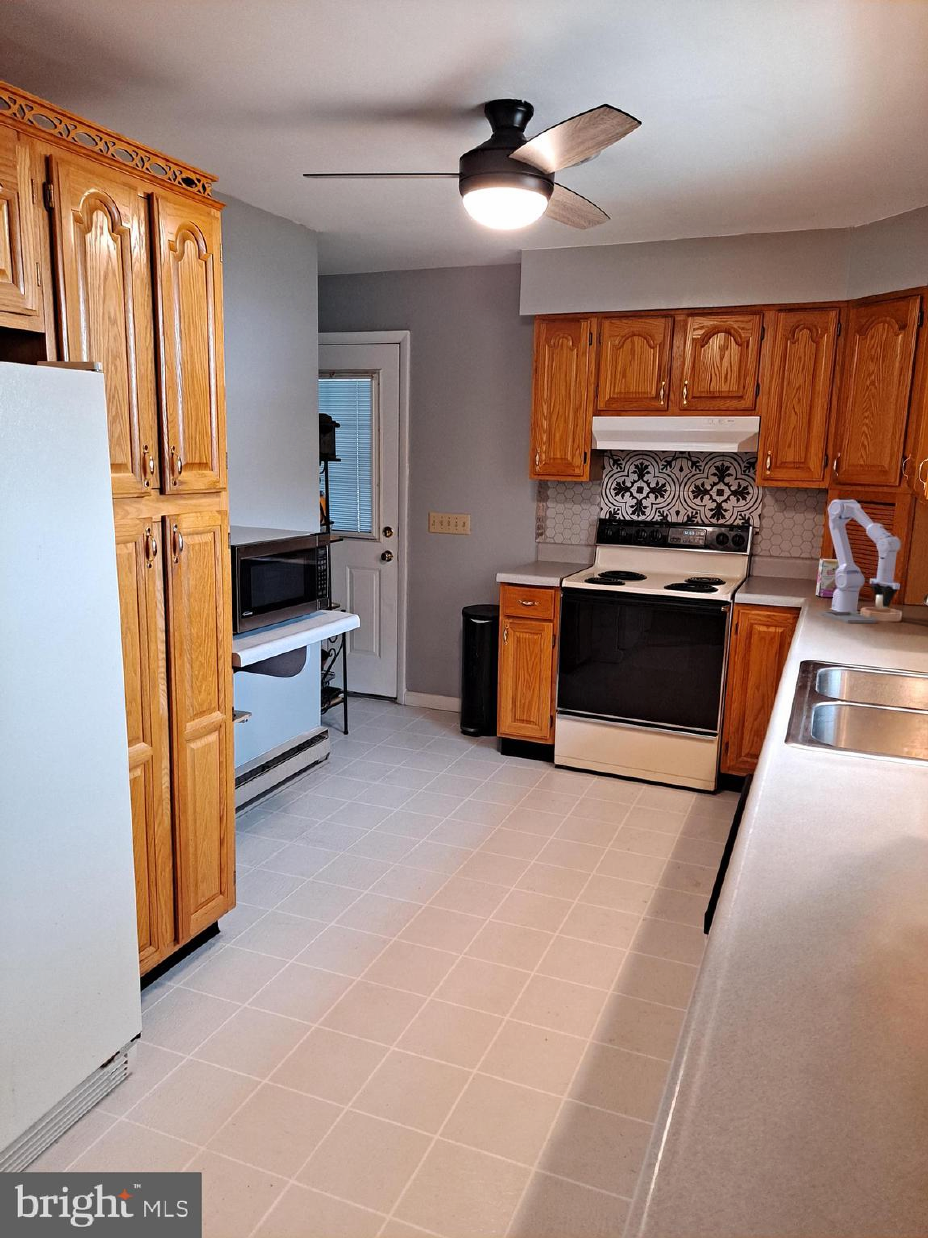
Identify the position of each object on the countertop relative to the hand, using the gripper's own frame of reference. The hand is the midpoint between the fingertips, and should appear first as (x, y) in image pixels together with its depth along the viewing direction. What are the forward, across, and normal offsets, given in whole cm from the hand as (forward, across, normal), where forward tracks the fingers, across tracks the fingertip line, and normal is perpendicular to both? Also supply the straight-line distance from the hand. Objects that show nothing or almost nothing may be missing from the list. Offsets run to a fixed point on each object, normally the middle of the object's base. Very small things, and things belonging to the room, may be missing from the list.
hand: (882, 605), depth 332 cm
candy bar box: (+6, -50, +12) cm, 52 cm away
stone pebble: (+1, 0, 0) cm, 1 cm away
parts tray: (+5, +1, -14) cm, 15 cm away
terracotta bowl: (+5, 0, 0) cm, 5 cm away
